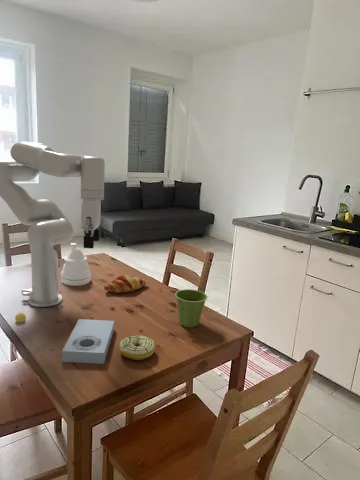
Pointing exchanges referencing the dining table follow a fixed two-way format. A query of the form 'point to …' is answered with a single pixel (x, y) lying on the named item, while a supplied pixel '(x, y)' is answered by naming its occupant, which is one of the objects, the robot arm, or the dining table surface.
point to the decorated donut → (137, 347)
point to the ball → (20, 317)
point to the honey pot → (75, 268)
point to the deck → (88, 341)
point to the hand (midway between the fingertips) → (91, 244)
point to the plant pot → (190, 306)
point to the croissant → (125, 284)
